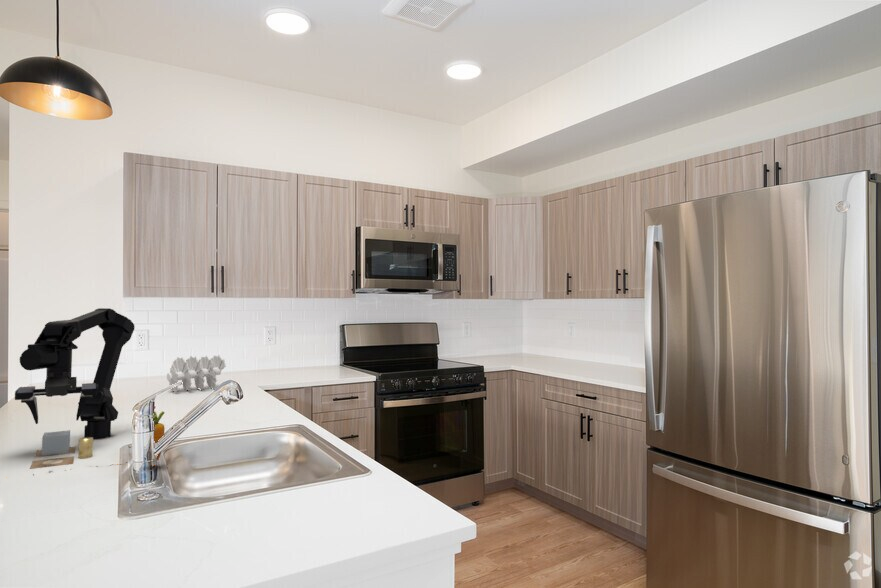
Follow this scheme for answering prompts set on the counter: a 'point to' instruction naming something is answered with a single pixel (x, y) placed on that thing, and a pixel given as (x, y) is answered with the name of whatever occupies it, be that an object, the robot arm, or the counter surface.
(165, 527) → the counter surface
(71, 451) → the board
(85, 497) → the counter surface
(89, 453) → the pin
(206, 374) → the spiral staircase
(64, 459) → the build board
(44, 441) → the grey block
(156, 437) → the carrot
